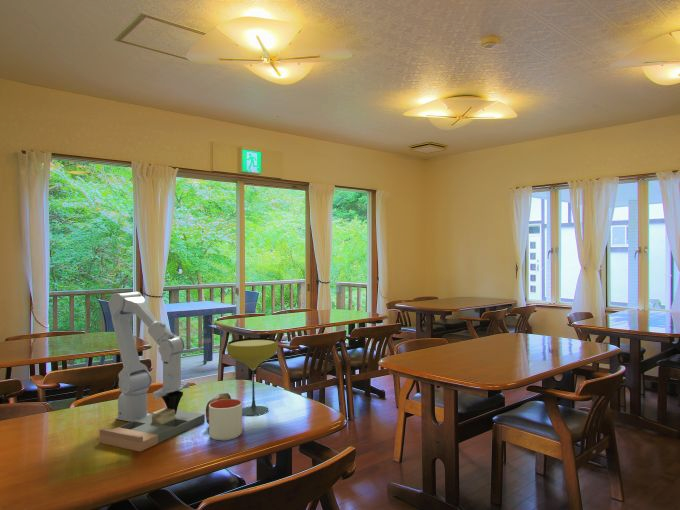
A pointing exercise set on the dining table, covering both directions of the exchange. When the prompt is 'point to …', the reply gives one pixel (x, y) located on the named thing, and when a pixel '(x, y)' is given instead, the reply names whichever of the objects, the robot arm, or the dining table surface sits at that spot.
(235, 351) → the cocktail glass
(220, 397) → the tin
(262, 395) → the dining table surface
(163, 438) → the board
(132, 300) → the robot arm
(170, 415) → the beech block
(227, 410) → the cup
